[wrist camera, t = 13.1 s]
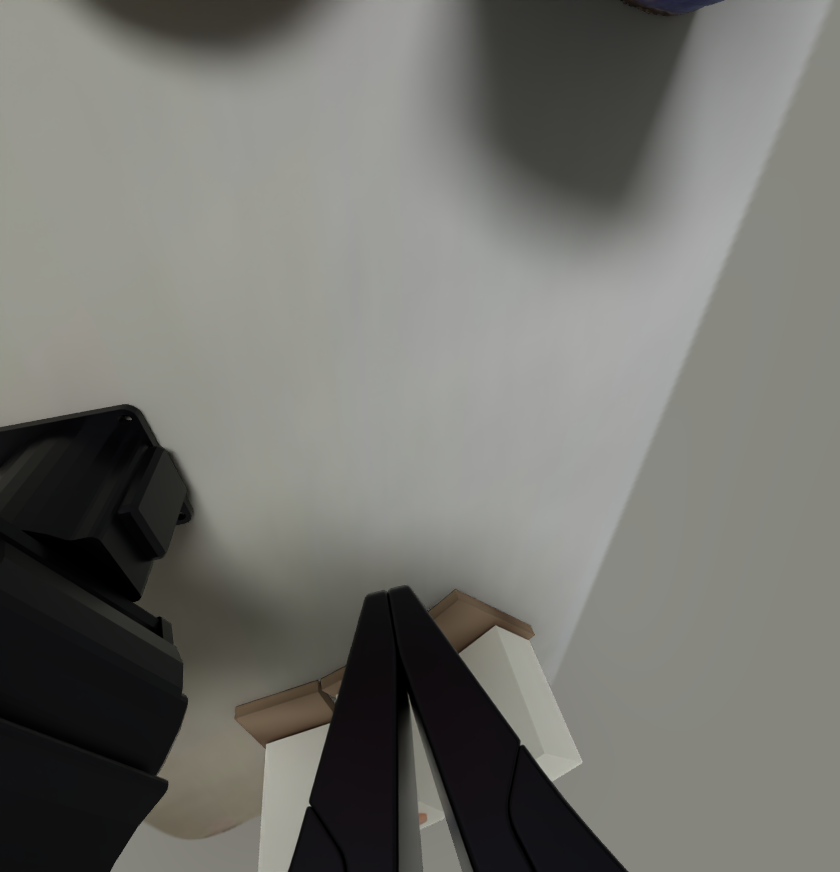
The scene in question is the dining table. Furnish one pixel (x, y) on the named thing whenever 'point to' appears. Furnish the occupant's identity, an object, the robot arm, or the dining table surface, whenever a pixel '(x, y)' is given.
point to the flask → (669, 6)
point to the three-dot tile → (287, 795)
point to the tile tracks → (311, 701)
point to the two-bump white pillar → (424, 783)
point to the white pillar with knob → (523, 697)
